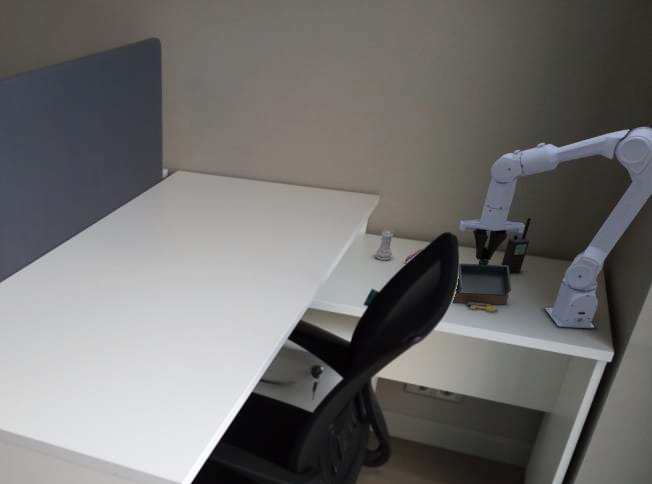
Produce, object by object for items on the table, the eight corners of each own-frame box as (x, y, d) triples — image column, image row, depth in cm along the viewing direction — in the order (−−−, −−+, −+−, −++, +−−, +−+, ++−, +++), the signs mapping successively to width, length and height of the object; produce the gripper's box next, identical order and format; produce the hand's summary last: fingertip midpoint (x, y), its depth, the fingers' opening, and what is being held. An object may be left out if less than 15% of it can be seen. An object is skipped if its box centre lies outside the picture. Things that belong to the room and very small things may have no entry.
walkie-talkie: (505, 273, 198) (521, 221, 190) (498, 269, 201) (513, 216, 193) (521, 272, 199) (538, 219, 191) (514, 267, 202) (530, 215, 193)
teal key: (469, 304, 181) (469, 302, 181) (465, 303, 183) (466, 301, 183) (490, 306, 181) (491, 304, 180) (487, 305, 183) (487, 303, 182)
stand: (505, 304, 182) (508, 295, 181) (451, 302, 184) (454, 293, 183) (496, 291, 189) (499, 283, 187) (444, 289, 190) (447, 280, 189)
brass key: (495, 310, 178) (494, 312, 179) (495, 306, 180) (494, 308, 180) (470, 307, 180) (470, 309, 181) (470, 303, 182) (470, 305, 182)
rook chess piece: (372, 255, 210) (377, 228, 206) (387, 254, 211) (392, 228, 206) (378, 261, 207) (383, 234, 202) (393, 260, 207) (399, 233, 203)
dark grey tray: (506, 295, 181) (513, 287, 177) (456, 293, 182) (462, 285, 178) (502, 256, 185) (509, 247, 181) (453, 255, 186) (459, 246, 183)
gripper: (523, 201, 177) (508, 253, 185) (461, 199, 179) (449, 251, 186) (533, 210, 171) (517, 264, 179) (469, 208, 173) (455, 261, 181)
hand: (482, 258), depth 182 cm, fingers closed on dark grey tray, 2 cm apart
